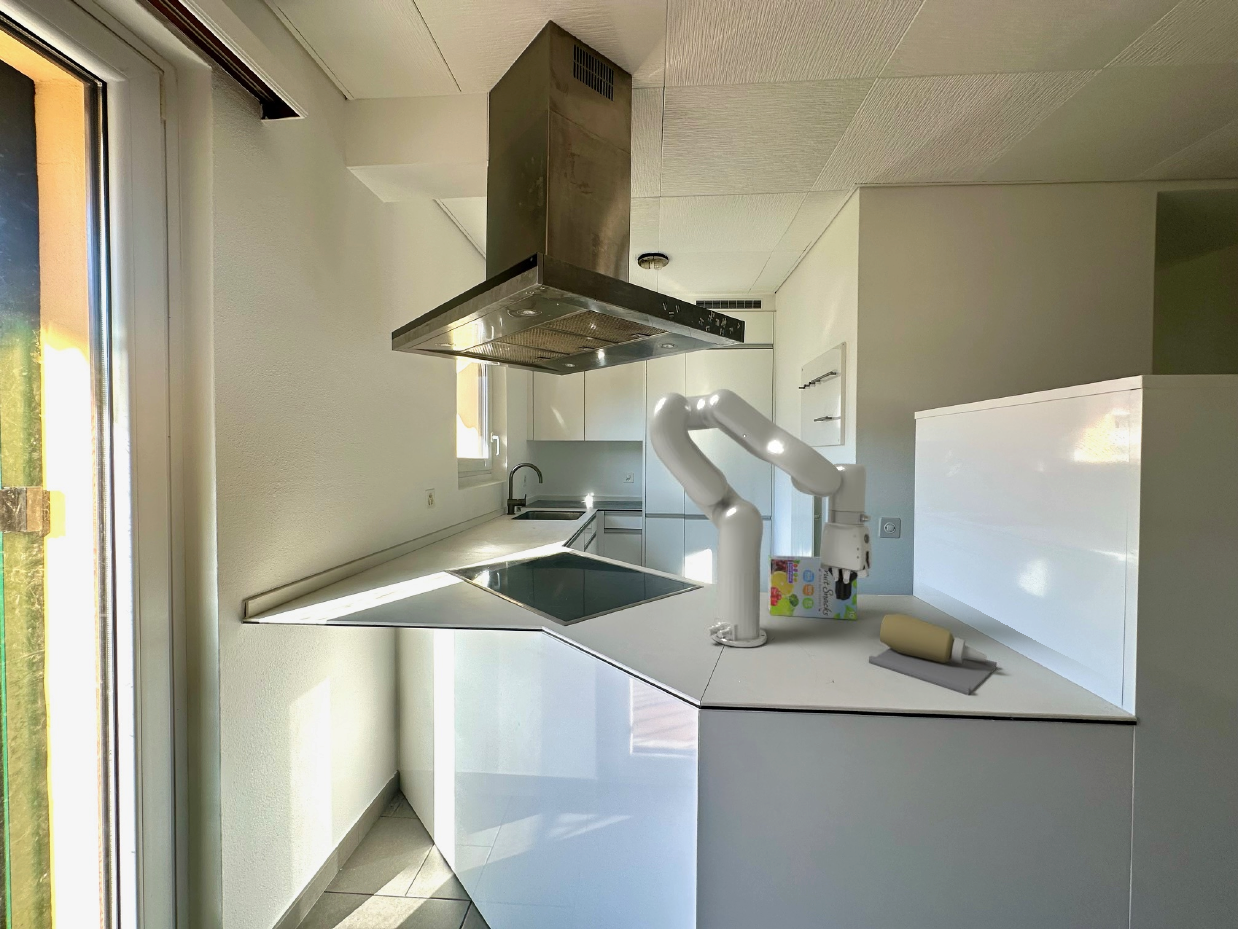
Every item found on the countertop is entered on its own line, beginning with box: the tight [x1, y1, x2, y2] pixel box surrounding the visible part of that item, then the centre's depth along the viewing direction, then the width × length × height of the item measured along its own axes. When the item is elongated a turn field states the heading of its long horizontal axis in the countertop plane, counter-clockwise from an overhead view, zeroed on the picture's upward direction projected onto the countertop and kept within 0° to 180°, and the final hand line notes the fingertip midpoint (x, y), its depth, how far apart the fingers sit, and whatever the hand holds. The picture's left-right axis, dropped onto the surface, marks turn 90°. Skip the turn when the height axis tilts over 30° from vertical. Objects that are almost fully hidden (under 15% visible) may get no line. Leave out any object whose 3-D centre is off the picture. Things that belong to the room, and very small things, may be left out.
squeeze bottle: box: [879, 613, 987, 663], centre depth 100 cm, size 8×8×18 cm
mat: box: [868, 647, 998, 696], centre depth 98 cm, size 17×17×1 cm
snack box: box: [767, 554, 858, 621], centre depth 128 cm, size 21×6×15 cm, turn 80°
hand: (843, 598), depth 111 cm, fingers closed
